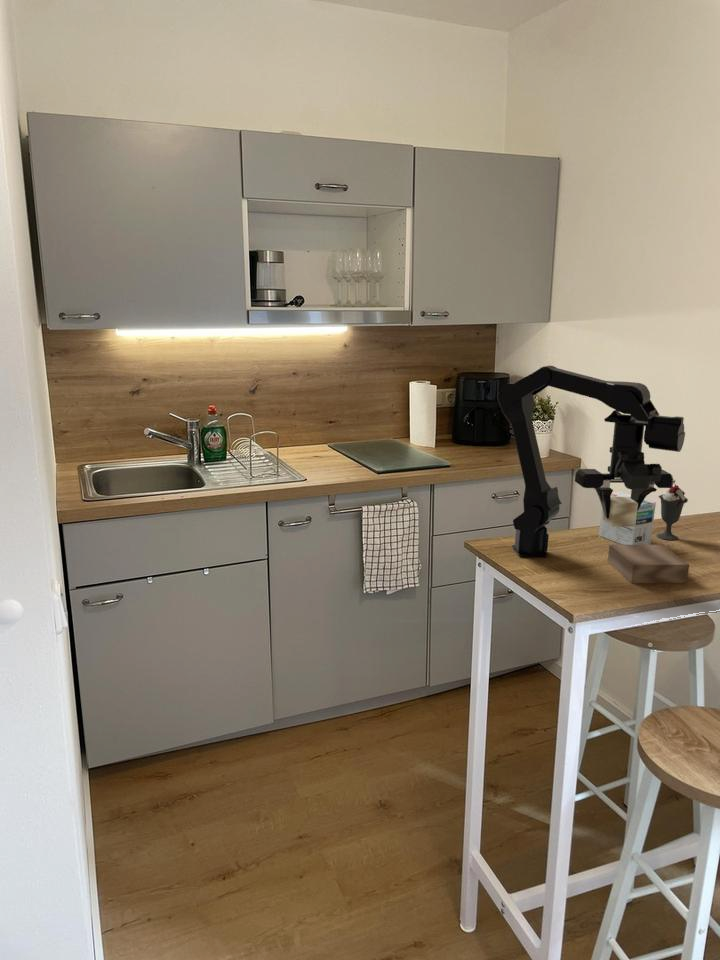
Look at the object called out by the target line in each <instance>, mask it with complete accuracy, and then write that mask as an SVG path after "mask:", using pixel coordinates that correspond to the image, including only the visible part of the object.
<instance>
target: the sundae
mask: <svg viewBox="0 0 720 960" xmlns="http://www.w3.org/2000/svg"><path fill="white" fill-rule="evenodd" d="M675 482H676V480H673V487H672V488H668V490H666V492H665V493H663V494H661V495H658V498H659V499H660V517H661V519H662V521H663V522H664V523H665V524H666V527H665V529H664V531H663V532H662V533H661V532H659V533H657V534H656V537H657V538H658V539H662V540H665V541H677V540H679V537H678V536H677V535H675V534H673V533H672V525H674V524H676V523H677V522H678V521H680V517H681V515H682V511H683V507H684V505H685V504H686V503H688V502H689V498H687V497H685V494H686V492H685V491H684V490H683V489H681V488H680V486H679V485H677V484H676V483H675Z"/></svg>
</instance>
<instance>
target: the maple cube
mask: <svg viewBox="0 0 720 960" xmlns="http://www.w3.org/2000/svg"><path fill="white" fill-rule="evenodd" d="M637 508H638V503H637V502H635V501H634V500H632V499H631V498H629V497H611V499H610V514H609V518H608V519H607V518H606V517H605V515H604V512H603V520H604V521H606V522H607V523H608V524H609V525H611V526H612V527H618V526H636V517H637Z"/></svg>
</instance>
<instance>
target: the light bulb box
mask: <svg viewBox="0 0 720 960" xmlns="http://www.w3.org/2000/svg"><path fill="white" fill-rule="evenodd" d="M611 497H629V498H631V494H629V493H626V492H623V491H617V492H612V494H611ZM656 505H657V502H655V501H652V500H648V499H646V498H645V499H644V500H643V502H642V504H641V506H640V508H639V509H638V511H637V517H636V526H618V527H612V526H611V525H609V524H608V523H607V522H606V521H604V520H603V512H604V511H603V508H602V507H601V510H600V511H601V512H600V519H599V527H598V536H599V537H602V538H605V539H606V540H610V541H612V542H615V543H617V544H619V545H652V544H651V543H652V538H653V537H652V535H653V528H654V527H653V526H654V519H655V513H656V512H655V511H656Z"/></svg>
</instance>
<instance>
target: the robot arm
mask: <svg viewBox="0 0 720 960" xmlns="http://www.w3.org/2000/svg"><path fill="white" fill-rule="evenodd" d="M548 387H551V388H555V389H559V390H562V391H566V392H570V393H574V394H576V395H581V396H585V397H588V398H591V399H594V400H596V401H597V400H598V401H600V402H601V403H603V404H605V405H606V406H607V407H608V408H611V409H613V411H612V412H611V413H610V414H609V415H608V416H606V417H604V420H603V421H604V422H606V423H614V426H613V427H614V428H613V434H612V435H613V436H612V437H613V438H612V439H613V440H612V445H611V446H610V447H609V453H611V454H610V455H611V456H610V465H608V466H607V472H609V473H602V472H600V471H598V470H597V469H595V468H578V470H576V472H575V474H574V475H575V477H574V482H575V483H577V484H578V485H579V486H580V487H582V488H584V489H594V490H595V492H596V493H597V496H598V500H599V502H600V505H601V509H602V508H603V511H604V515H605V517H606V518H607V519H608V518H609V514H610V499H611V494H612V493H614V489H612V488H611V483H613V484H616V483H623V485H624V487H625V488H626V489H629V490H631V492H630V495H631V499H632V500H634V501H635V502H637V503H638V508H637V511H638V509H639V508H640V506H641V504H642V502H643V500H644V499H645V500H646V497H647V496H648V495H650V494H651V493H653V492H656V491H657V490H658V489H670V488H672V487H674V483H673V481H674V477H673V475H672V474H671V473H670V472H667V471H666V470H664V469H663V468H662V465H661V464H660V463H645V453H644V452H643V451H642V450H643V442H644V443H645V445H648V448H649V449H653V450H661V451H662V450H663V451H670V452H678V453H679V452H682V451H681V450H682V449H683V446H684V442H685V438H686V432H685V424H684V422H685V421H684V419H685V418H684V417H683V416H668V415H667V416H665V415H660V413H659V412H658V410H657V408H656V407H655V404H653V402H652V400H651V391H650V389H649V388H648V386H646V384H644V383H641V382H631V381H616V380H615V381H611V380H604V379H600V378H596V377H593V376H589V375H586V374H580V373H577V372H573V371H570V370H565V369H563V368H558V367H556V366H554V365H544V366H542V367H540V366H539V368H538V369H537V370H535V371H533V372H532V373H531V374H528V375H527V376H525V377H523V378H521V379H519V380H517V381H514V382H509V383H506V384H503V385H502V386H501V387H500V389H499V390H498V392H497V395H496V396H497V401H498V404H499V407H500V408H501V412H502V414H503V416H505V418H506V419H507V421H508V422H509V423H510V425H511V429H512V433H513V439H514V442H515V447H516V451H517V455H518V459H519V464H520V470H521V472H522V473H521V474H522V477H523V481H524V495H523V500H522V502H523V512H522V513H521V514H519V515H518V516H516V517H515V518H514V519H512V524H513V528H514V529H515V540H514V544H512V549H513V551H515V553H516V554H517V555H518V556H519V557H520V558H523V557H524V558H525V557H526V558H531V557H535V558H536V557H537V558H538V557H539V558H540V557H541V558H542V557H543V558H545V557H548V553H547V552H548V547H549V546H548V545H549V537H550V536H549V534H548V528H547V527H546V526H547V525H549V523H550V522H551V520H553V519H554V518H556V517H557V515H558V514H559V512H560V505H562V503H563V502H561V500H560V497H559V490H558V486H555V487H551V486H550V484H549V483H548V481H547V479H546V475H545V470H544V467H543V463H542V458H541V452H540V450H539V449H540V448H539V444H538V439H537V435H536V432H535V431H536V430H535V427H534V422H533V416H534V409H535V397H534V396H536V395H537V394H539V393H541V392H542V391H543V390H545V389H546V388H548ZM655 486H656V487H657V488H658V489H657V488H656V487H655Z"/></svg>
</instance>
